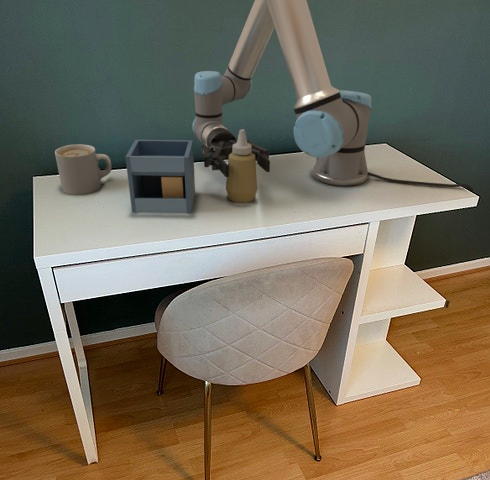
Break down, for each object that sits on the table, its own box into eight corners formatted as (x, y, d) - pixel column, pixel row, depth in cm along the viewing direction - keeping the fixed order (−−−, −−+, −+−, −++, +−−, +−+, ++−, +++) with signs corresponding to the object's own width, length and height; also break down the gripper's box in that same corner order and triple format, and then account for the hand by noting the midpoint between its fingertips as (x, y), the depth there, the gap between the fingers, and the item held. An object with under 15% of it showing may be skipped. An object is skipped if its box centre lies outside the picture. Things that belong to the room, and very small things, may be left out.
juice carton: (185, 198, 126) (184, 169, 122) (184, 206, 122) (182, 177, 118) (166, 198, 126) (163, 169, 122) (163, 206, 122) (161, 177, 118)
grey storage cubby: (195, 195, 130) (192, 140, 122) (191, 216, 120) (188, 157, 112) (141, 195, 130) (135, 139, 122) (132, 216, 120) (125, 156, 111)
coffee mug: (59, 195, 129) (52, 157, 123) (64, 181, 137) (57, 145, 131) (113, 192, 131) (108, 155, 125) (114, 178, 139) (109, 143, 134)
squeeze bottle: (254, 209, 124) (255, 136, 114) (222, 206, 125) (221, 133, 115) (259, 196, 130) (262, 126, 120) (229, 193, 132) (229, 124, 122)
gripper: (257, 150, 142) (290, 178, 124) (180, 158, 135) (203, 189, 118) (258, 123, 137) (292, 148, 120) (178, 130, 131) (202, 158, 113)
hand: (248, 169), depth 119 cm, fingers open, 10 cm apart
